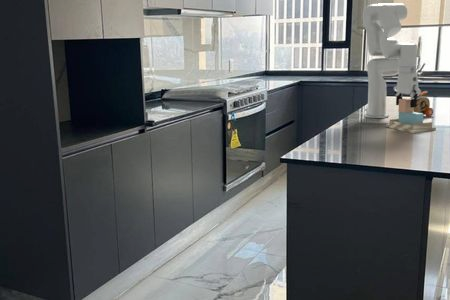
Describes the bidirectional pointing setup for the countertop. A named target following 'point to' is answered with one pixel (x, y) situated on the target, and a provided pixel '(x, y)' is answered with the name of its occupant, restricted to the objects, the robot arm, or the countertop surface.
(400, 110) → the peach brick
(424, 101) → the toy helicopter
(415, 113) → the light blue block
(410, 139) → the countertop surface
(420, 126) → the jig
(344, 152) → the countertop surface
